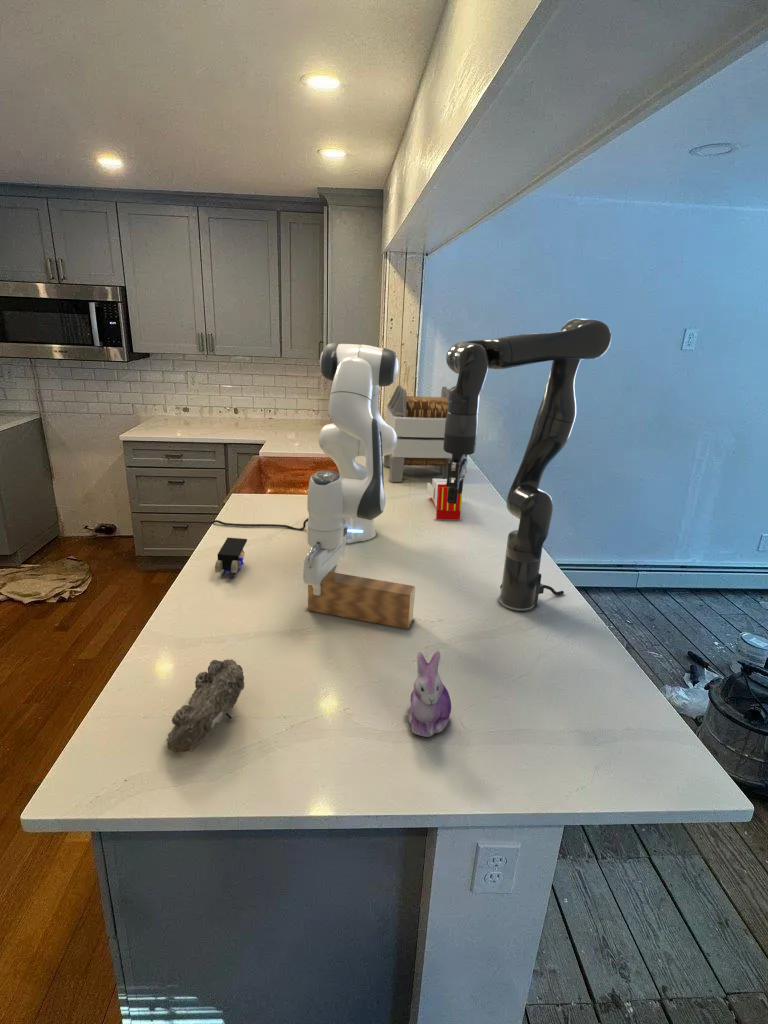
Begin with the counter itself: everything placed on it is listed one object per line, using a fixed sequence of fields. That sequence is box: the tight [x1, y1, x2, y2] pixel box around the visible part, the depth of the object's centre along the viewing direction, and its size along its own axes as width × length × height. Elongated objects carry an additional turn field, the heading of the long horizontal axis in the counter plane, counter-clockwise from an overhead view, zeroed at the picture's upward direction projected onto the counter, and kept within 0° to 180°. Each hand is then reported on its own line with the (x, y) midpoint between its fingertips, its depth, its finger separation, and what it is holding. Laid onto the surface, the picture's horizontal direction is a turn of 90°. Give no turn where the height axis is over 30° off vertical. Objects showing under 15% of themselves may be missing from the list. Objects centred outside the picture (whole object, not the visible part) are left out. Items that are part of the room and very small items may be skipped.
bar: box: [307, 572, 416, 630], centre depth 145 cm, size 27×5×10 cm, turn 74°
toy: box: [426, 478, 463, 521], centre depth 226 cm, size 12×13×30 cm
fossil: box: [166, 658, 245, 754], centre depth 106 cm, size 22×10×15 cm
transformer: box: [383, 384, 452, 483], centre depth 268 cm, size 34×33×41 cm
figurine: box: [407, 650, 452, 738], centre depth 107 cm, size 9×10×15 cm
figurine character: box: [214, 537, 248, 578], centre depth 166 cm, size 7×8×15 cm
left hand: (324, 586), depth 146 cm, fingers open, 8 cm apart
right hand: (454, 497), depth 137 cm, fingers open, 8 cm apart
